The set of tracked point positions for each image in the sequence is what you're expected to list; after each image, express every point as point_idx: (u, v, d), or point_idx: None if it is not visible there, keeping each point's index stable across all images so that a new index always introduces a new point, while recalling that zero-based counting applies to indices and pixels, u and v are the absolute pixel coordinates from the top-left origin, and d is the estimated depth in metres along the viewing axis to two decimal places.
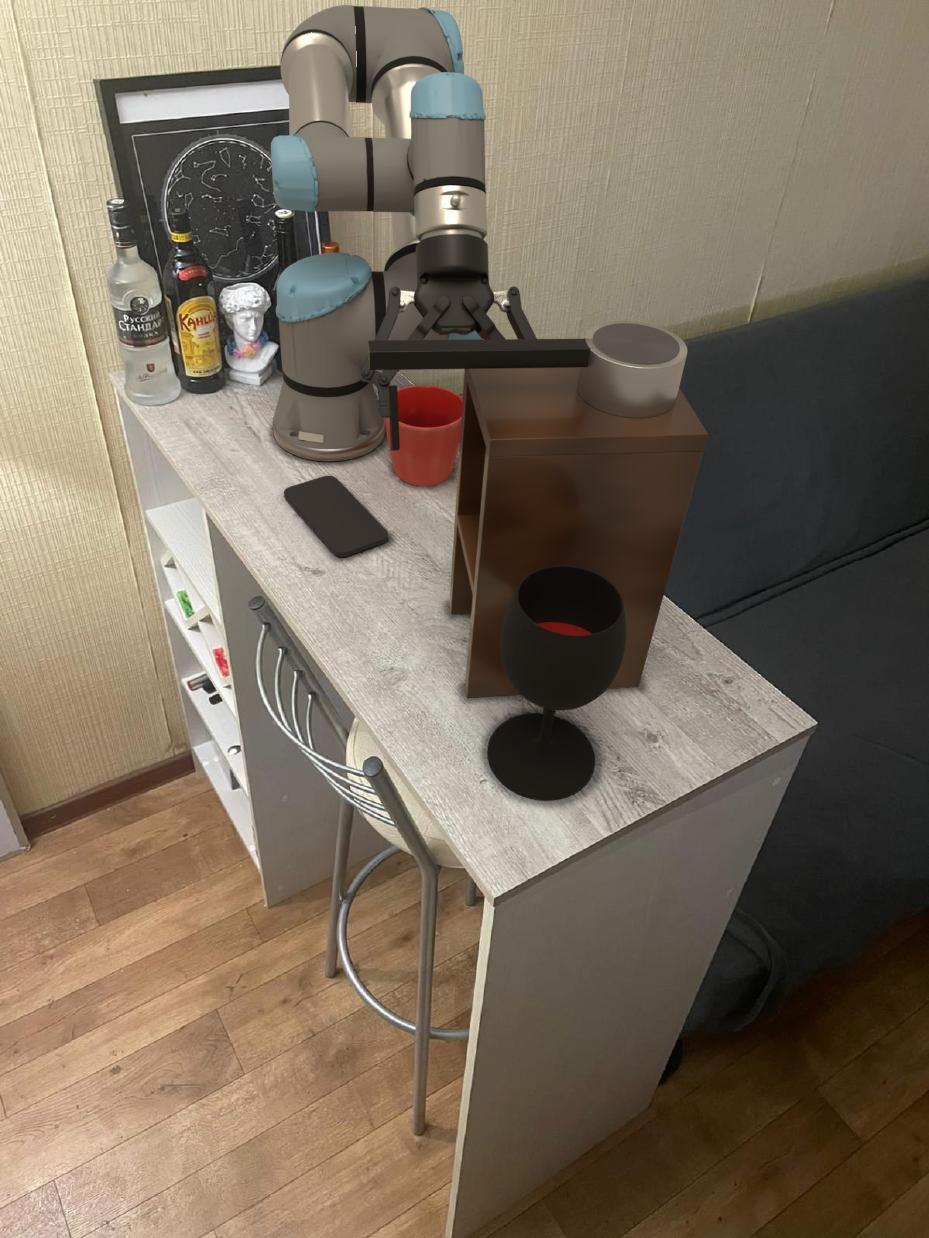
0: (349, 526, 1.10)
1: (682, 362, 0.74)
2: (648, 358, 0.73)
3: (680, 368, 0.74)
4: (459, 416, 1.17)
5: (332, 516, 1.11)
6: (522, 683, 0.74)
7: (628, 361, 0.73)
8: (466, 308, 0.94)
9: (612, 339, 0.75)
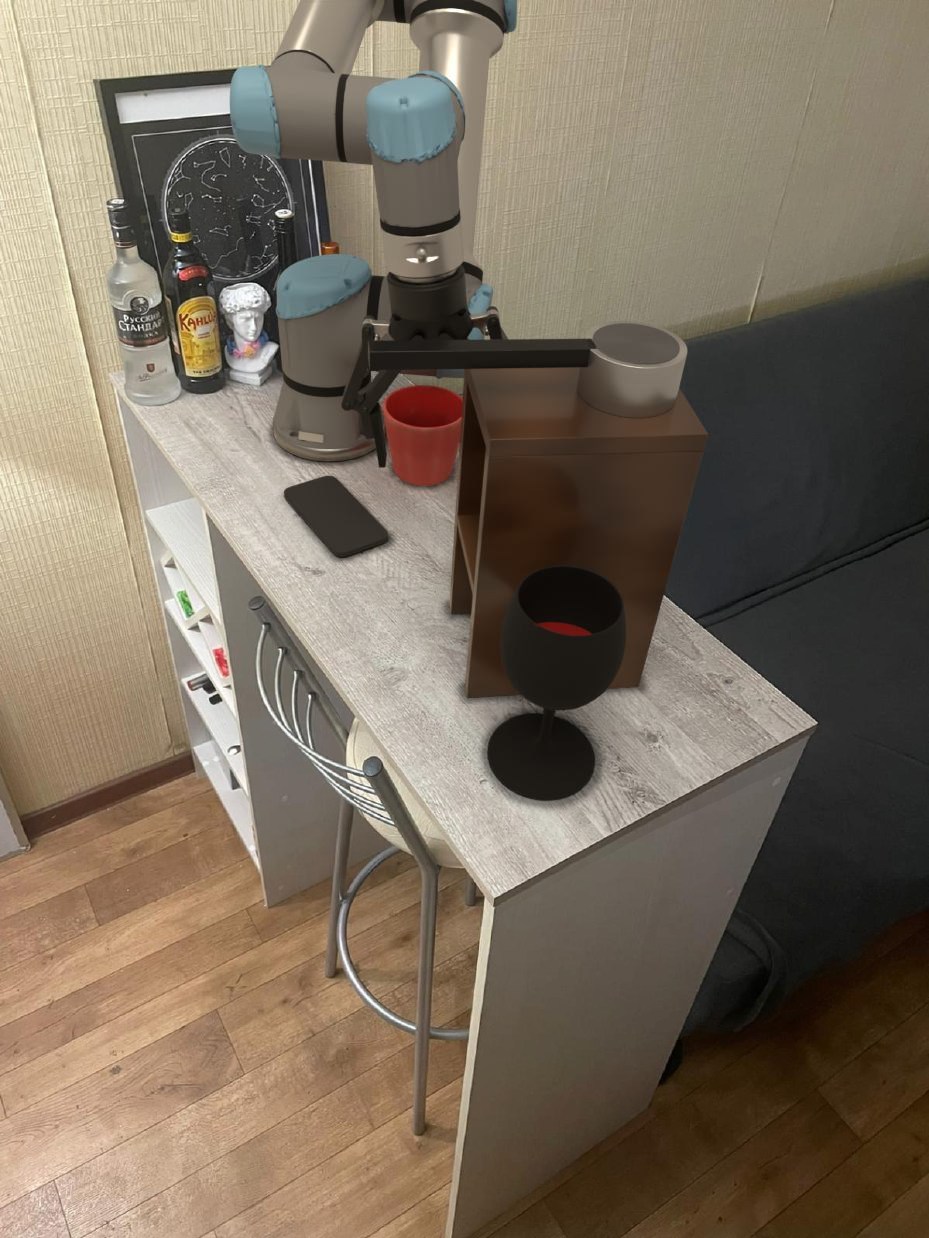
0: (349, 526, 1.10)
1: (682, 362, 0.74)
2: (648, 358, 0.73)
3: (680, 368, 0.74)
4: (459, 416, 1.17)
5: (332, 516, 1.11)
6: (522, 683, 0.74)
7: (628, 361, 0.73)
8: None
9: (612, 339, 0.75)
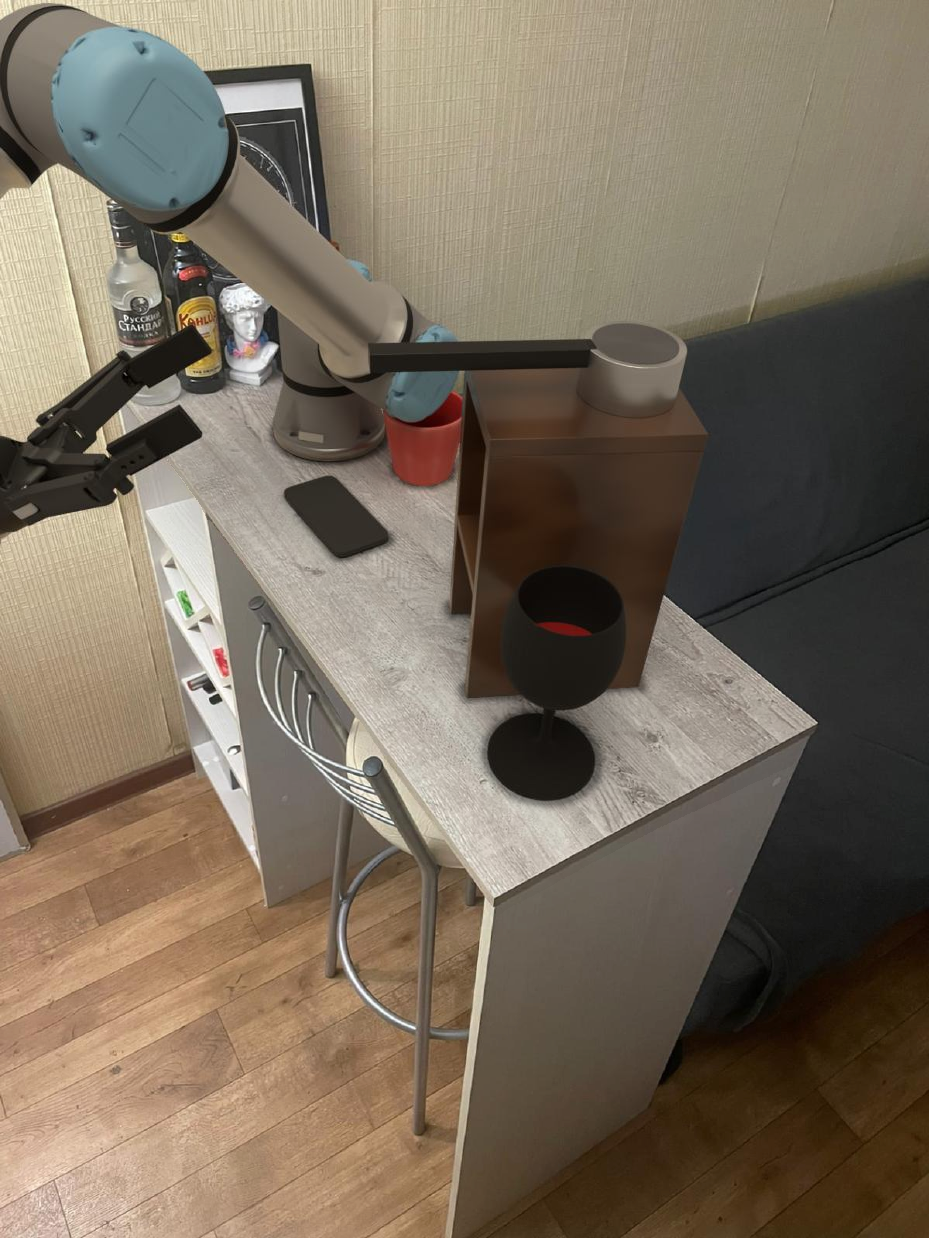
0: (349, 526, 1.10)
1: (682, 361, 0.74)
2: (648, 358, 0.73)
3: (680, 367, 0.74)
4: (459, 416, 1.17)
5: (332, 516, 1.11)
6: (522, 683, 0.74)
7: (628, 361, 0.73)
8: None
9: (612, 340, 0.75)
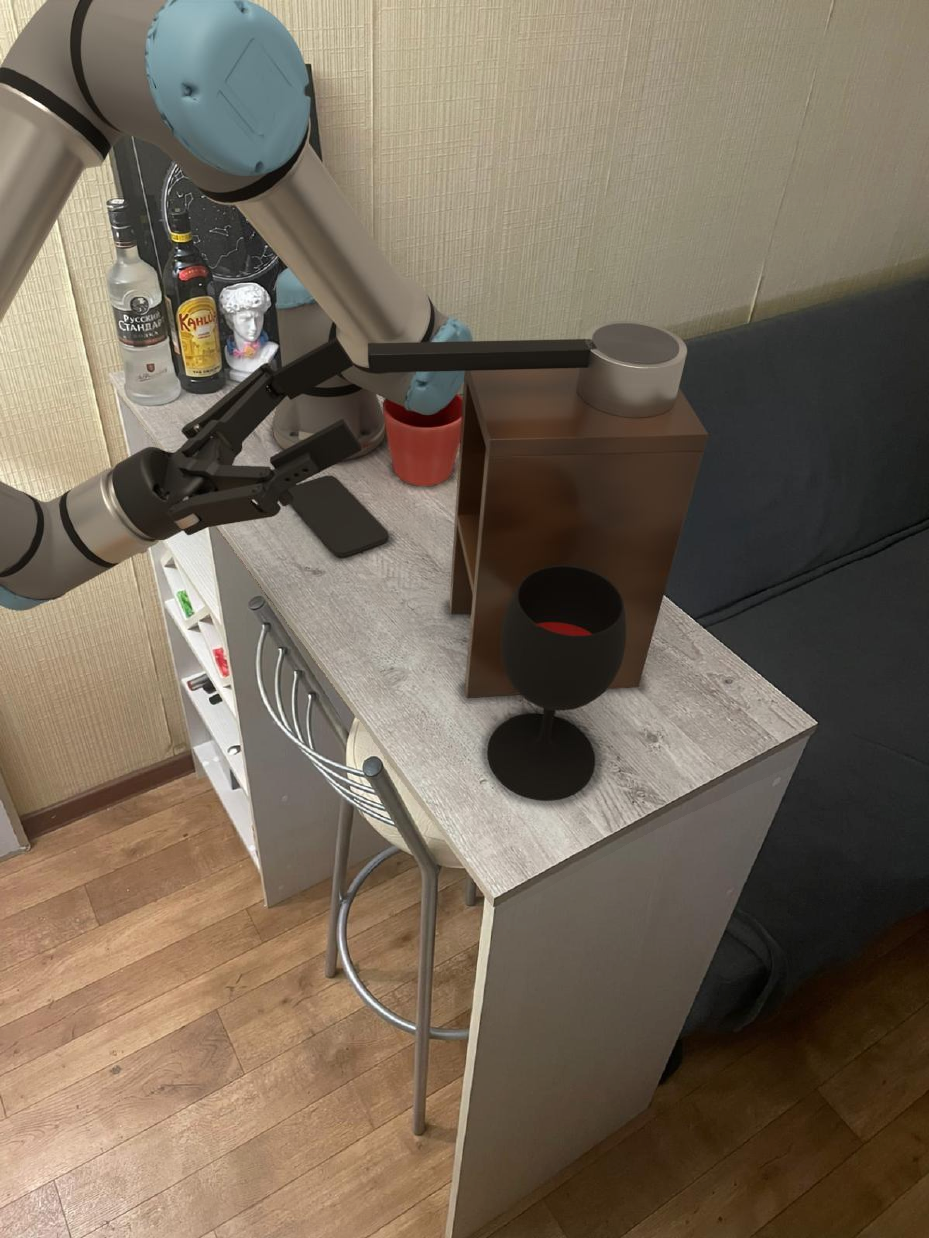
0: (349, 526, 1.10)
1: (682, 361, 0.74)
2: (648, 358, 0.73)
3: (680, 367, 0.74)
4: (459, 416, 1.17)
5: (332, 516, 1.11)
6: (522, 683, 0.74)
7: (628, 361, 0.73)
8: None
9: (612, 340, 0.75)
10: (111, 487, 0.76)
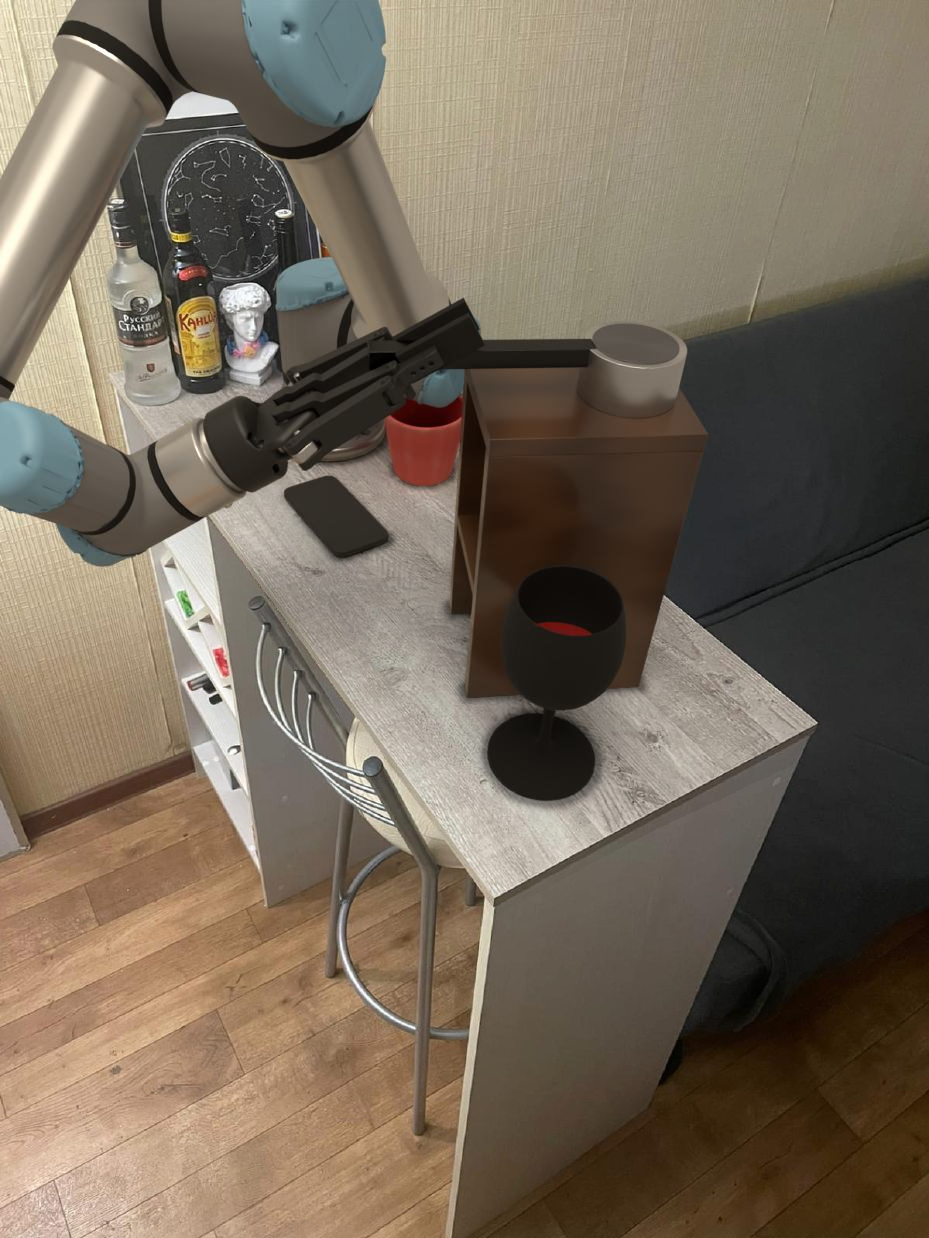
0: (349, 526, 1.10)
1: (682, 362, 0.74)
2: (648, 358, 0.73)
3: (680, 368, 0.74)
4: (459, 416, 1.17)
5: (332, 516, 1.11)
6: (522, 683, 0.74)
7: (628, 361, 0.73)
8: None
9: (612, 340, 0.75)
10: (202, 436, 0.74)
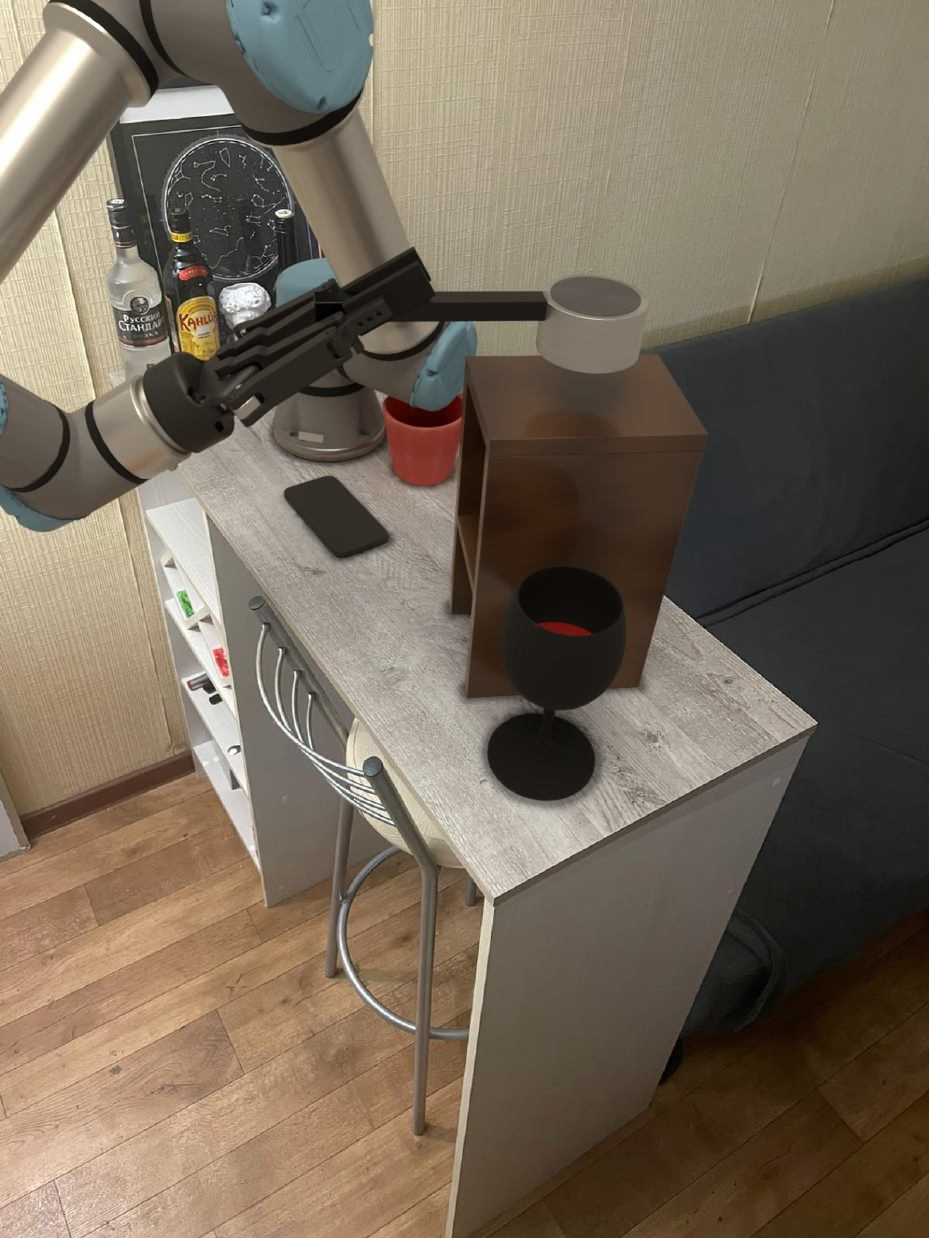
0: (349, 526, 1.10)
1: (643, 315, 0.71)
2: (607, 310, 0.70)
3: (641, 321, 0.71)
4: (459, 416, 1.17)
5: (332, 516, 1.11)
6: (522, 683, 0.74)
7: (586, 313, 0.69)
8: None
9: (571, 292, 0.72)
10: (141, 393, 0.71)
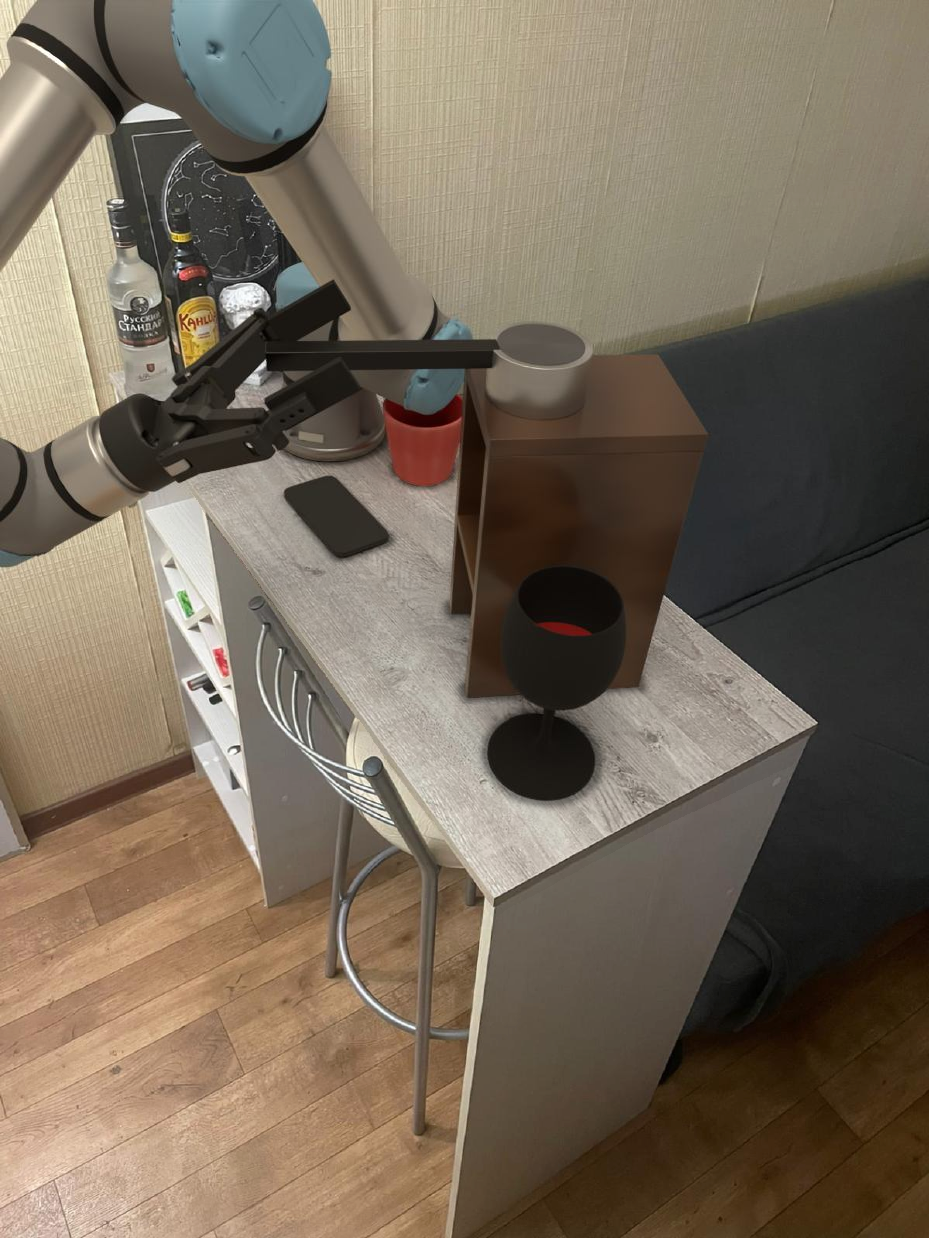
0: (349, 526, 1.10)
1: (586, 363, 0.73)
2: (551, 359, 0.72)
3: (584, 369, 0.73)
4: (459, 416, 1.17)
5: (332, 516, 1.11)
6: (522, 683, 0.74)
7: (530, 362, 0.71)
8: None
9: (517, 340, 0.74)
10: (98, 434, 0.73)
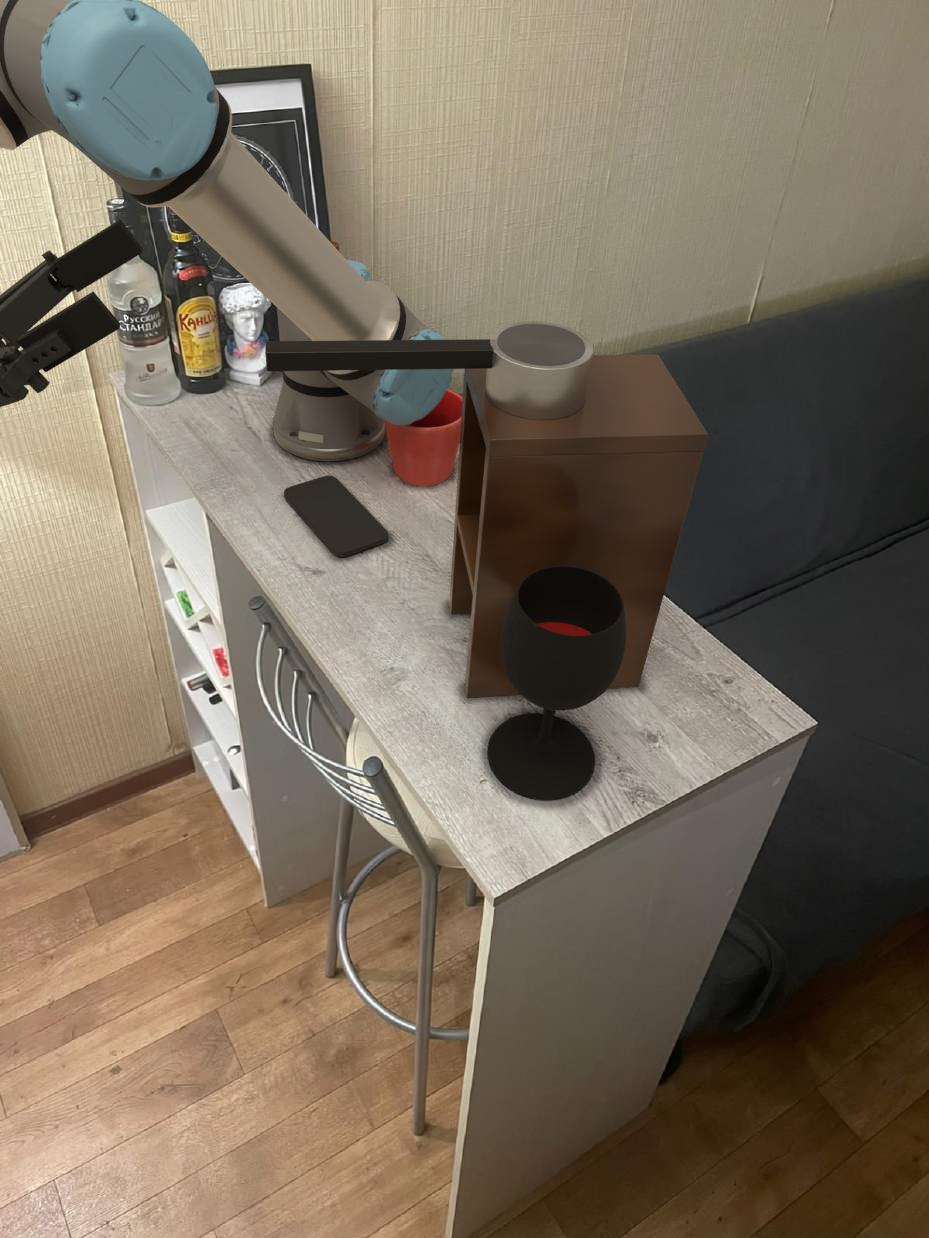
0: (349, 526, 1.10)
1: (586, 363, 0.73)
2: (551, 359, 0.72)
3: (584, 369, 0.73)
4: (459, 416, 1.17)
5: (332, 516, 1.11)
6: (522, 683, 0.74)
7: (530, 362, 0.71)
8: None
9: (517, 340, 0.74)
10: None
